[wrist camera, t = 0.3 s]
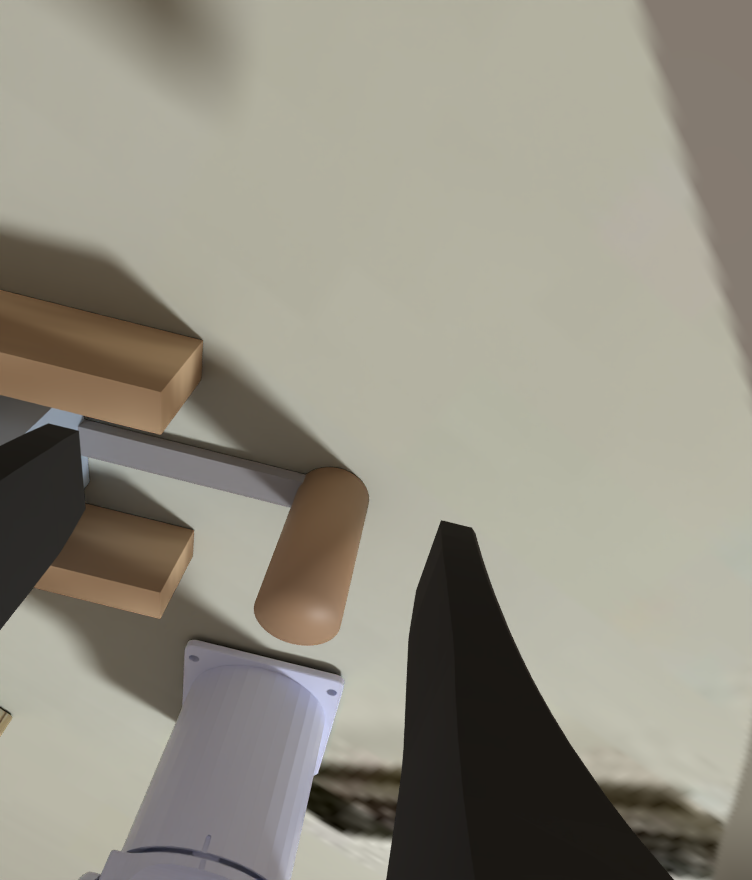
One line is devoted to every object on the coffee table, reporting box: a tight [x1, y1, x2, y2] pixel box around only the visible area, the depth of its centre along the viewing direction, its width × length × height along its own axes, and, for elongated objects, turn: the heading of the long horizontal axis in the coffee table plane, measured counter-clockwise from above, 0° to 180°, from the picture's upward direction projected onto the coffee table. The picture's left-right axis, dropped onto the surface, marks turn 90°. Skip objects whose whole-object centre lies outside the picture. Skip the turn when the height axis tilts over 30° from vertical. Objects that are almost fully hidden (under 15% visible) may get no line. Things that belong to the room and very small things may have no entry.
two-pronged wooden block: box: [0, 290, 203, 619], centre depth 24 cm, size 11×13×4 cm
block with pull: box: [0, 395, 369, 646], centre depth 23 cm, size 5×16×6 cm, turn 79°
